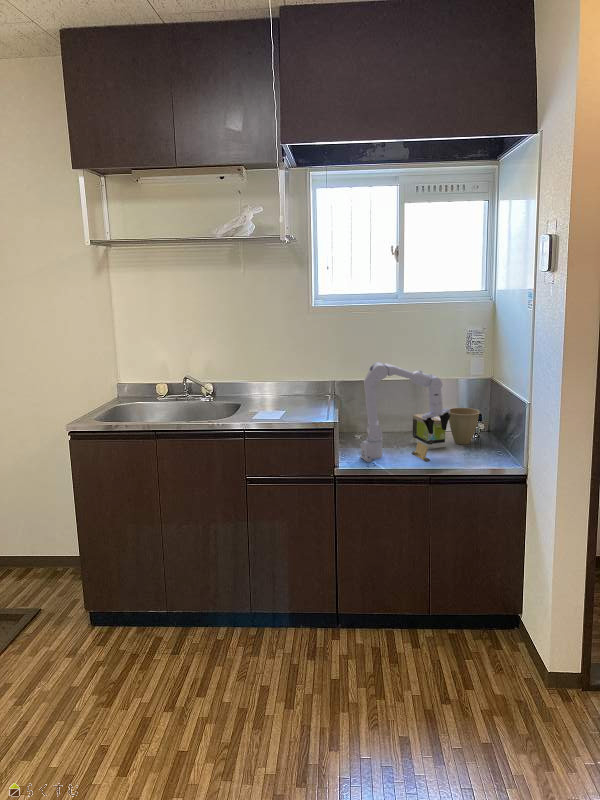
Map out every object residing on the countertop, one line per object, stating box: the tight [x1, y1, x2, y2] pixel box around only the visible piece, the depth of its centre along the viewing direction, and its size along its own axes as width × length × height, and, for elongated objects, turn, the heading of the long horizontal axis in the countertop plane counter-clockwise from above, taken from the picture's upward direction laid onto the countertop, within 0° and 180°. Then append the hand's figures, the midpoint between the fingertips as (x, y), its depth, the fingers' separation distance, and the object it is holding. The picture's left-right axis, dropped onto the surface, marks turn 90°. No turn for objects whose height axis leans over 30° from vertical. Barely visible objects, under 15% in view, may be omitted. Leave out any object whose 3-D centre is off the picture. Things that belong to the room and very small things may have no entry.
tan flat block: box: [413, 442, 429, 461], centre depth 274 cm, size 7×8×2 cm
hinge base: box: [411, 450, 431, 463], centre depth 276 cm, size 10×12×2 cm
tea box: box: [412, 412, 446, 450], centre depth 293 cm, size 15×10×15 cm, turn 18°
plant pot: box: [448, 407, 480, 445], centre depth 296 cm, size 15×15×16 cm
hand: (437, 431), depth 276 cm, fingers open, 7 cm apart
